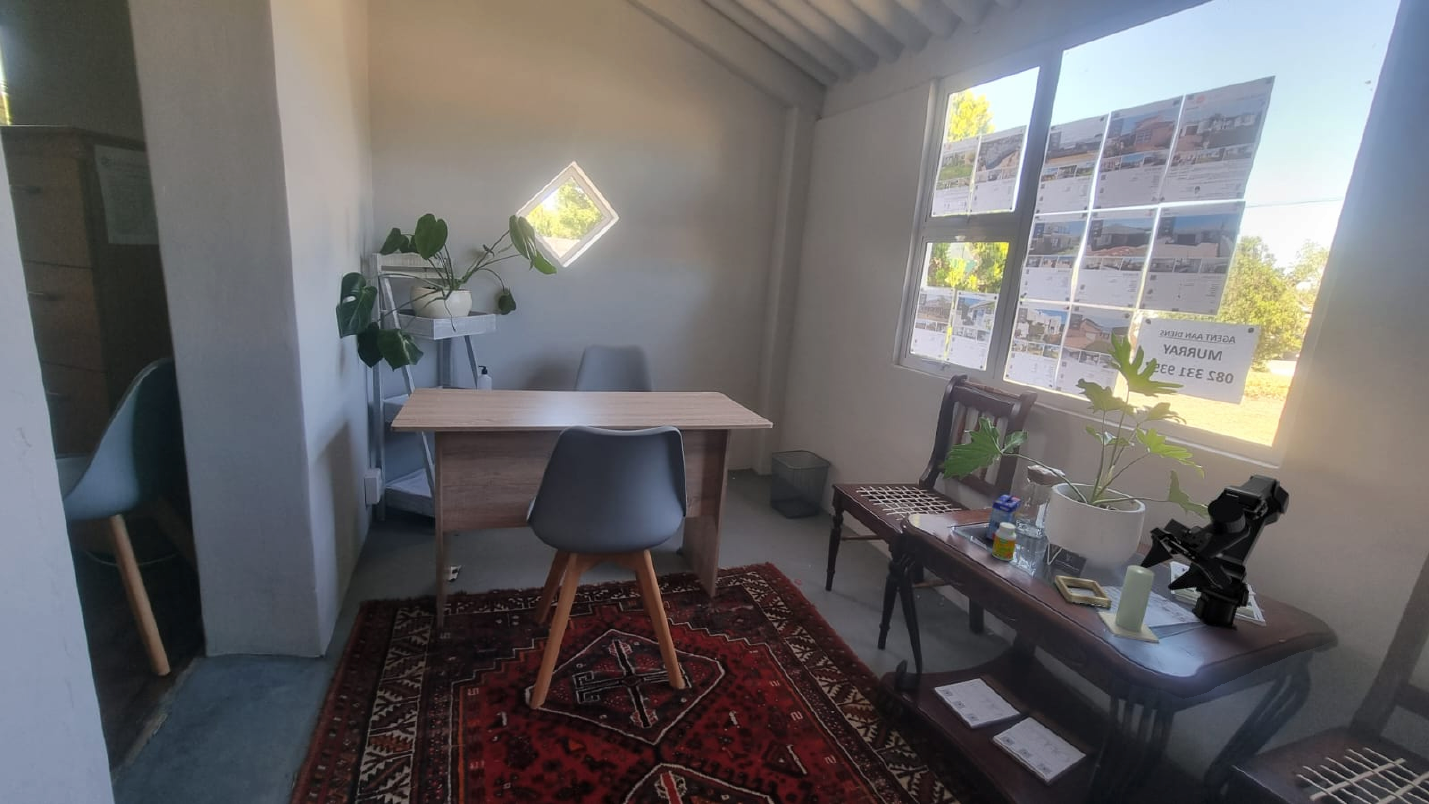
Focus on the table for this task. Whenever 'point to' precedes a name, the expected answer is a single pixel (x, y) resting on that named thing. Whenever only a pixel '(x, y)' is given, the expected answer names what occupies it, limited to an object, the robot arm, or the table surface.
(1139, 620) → the ceramic canister
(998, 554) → the supplement bottle
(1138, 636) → the cream square tile
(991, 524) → the ink cartridge box
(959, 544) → the table surface
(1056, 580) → the birch collar
